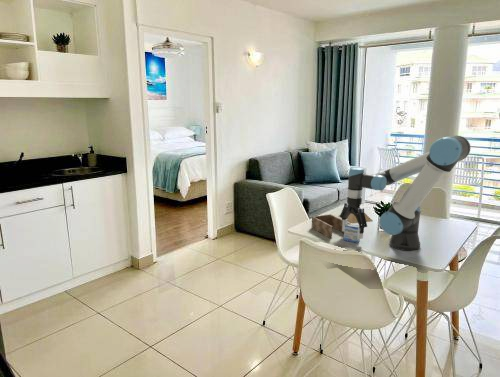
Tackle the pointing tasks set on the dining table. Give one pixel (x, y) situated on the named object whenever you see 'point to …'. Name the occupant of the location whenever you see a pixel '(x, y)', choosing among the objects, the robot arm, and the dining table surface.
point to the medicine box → (351, 233)
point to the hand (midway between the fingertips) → (352, 234)
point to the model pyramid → (352, 219)
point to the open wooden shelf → (327, 224)
